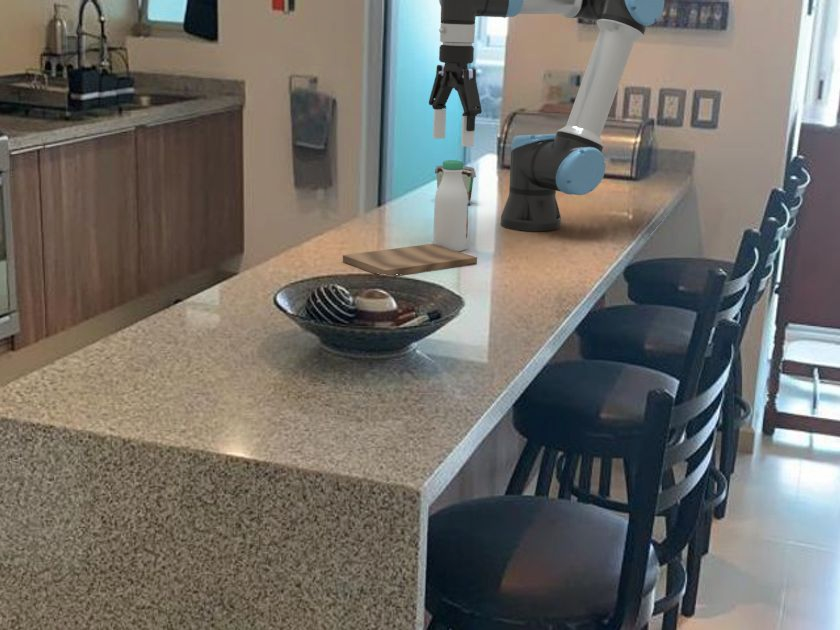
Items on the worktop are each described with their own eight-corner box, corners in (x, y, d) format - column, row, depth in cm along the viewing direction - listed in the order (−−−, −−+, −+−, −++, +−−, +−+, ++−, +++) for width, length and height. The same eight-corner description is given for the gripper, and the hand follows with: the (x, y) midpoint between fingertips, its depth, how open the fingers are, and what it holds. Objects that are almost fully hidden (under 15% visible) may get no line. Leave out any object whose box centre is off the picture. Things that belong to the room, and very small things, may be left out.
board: (432, 250, 263) (432, 243, 263) (476, 264, 251) (477, 257, 250) (342, 262, 249) (342, 255, 249) (385, 277, 237) (385, 270, 236)
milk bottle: (463, 253, 261) (467, 164, 255) (430, 251, 262) (432, 162, 257) (469, 246, 268) (472, 159, 262) (436, 244, 269) (439, 158, 264)
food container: (483, 203, 322) (484, 168, 319) (471, 207, 317) (473, 170, 314) (445, 198, 328) (446, 163, 326) (433, 201, 323) (434, 165, 321)
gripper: (416, 41, 262) (413, 135, 267) (469, 47, 240) (464, 149, 246) (445, 41, 265) (442, 135, 271) (500, 47, 244) (495, 148, 249)
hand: (452, 142), depth 258 cm, fingers open, 13 cm apart
